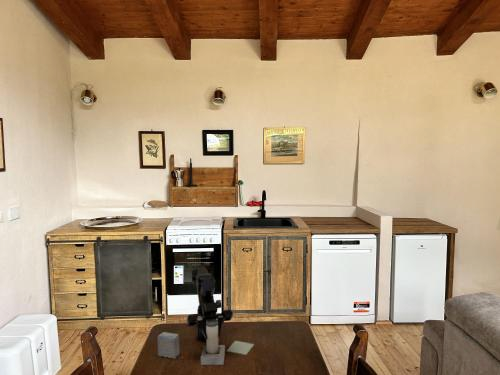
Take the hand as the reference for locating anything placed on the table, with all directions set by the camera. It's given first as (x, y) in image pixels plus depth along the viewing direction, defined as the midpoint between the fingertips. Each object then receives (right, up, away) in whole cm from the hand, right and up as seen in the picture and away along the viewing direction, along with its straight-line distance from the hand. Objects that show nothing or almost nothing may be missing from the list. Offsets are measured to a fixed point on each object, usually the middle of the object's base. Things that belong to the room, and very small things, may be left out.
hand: (212, 338), depth 145 cm
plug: (0, -7, +2) cm, 7 cm away
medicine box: (-19, -10, +5) cm, 22 cm away
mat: (+11, -9, +10) cm, 17 cm away
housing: (0, -9, +2) cm, 10 cm away
